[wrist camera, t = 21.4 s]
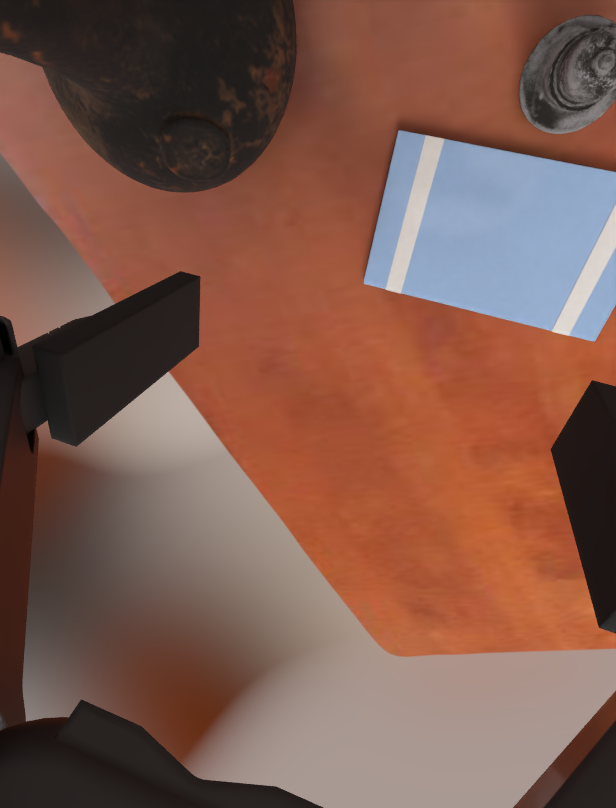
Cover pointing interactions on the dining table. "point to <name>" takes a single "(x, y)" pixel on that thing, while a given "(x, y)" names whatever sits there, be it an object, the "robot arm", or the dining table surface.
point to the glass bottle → (163, 79)
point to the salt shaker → (570, 75)
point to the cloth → (498, 234)
